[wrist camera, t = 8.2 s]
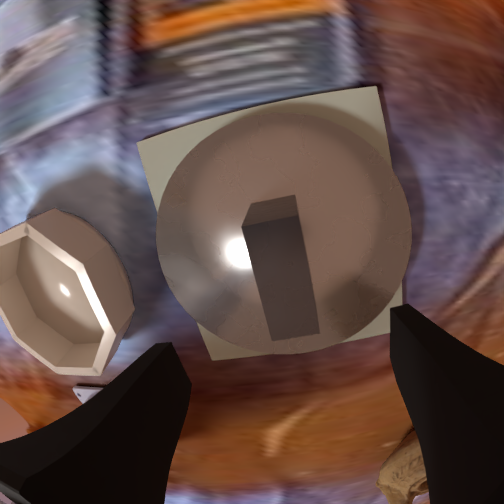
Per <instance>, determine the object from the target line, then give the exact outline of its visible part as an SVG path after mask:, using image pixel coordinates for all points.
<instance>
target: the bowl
mask: <svg viewBox="0 0 504 504" xmlns="http://www.w3.org/2000/svg"><path fill="white" fill-rule="evenodd" d="M134 310H135V307H134V305H133V293H132V288H131V284H130V281H129V278H128V275H127V272H126V270H125V268H124V266H123V263H122V262H121V260H120V258H119V256H118V255H117V253H116V252H115V250H114V249H113V247H112V246H111V245H110V243H109V242H108V241H107V240H106V239H105V237H104V236H103V235H102V234H101V233H100V232H99V231H98V230H96V229H95V228H94V227H93V226H92V225H90V224H89V223H88V222H86V221H85V220H83V219H81V218H79V217H77V216H75V215H73V214H70V213H66V212H62V211H59V210H57V209H56V208H53V209H51V210H49V211H46V212H44V213H41V214H39V215H37V216H35V217H33V218H30V219H28V220H26V221H24V222H21V223H19V224H17V225H15V226H13V227H11V228H9V229H7V230H5V231H4V232H2V233H0V315H1V317H2V319H3V321H4V323H5V325H6V326H7V328H8V330H9V332H10V334H11V335H12V337H13V339H14V340H15V341H16V342H17V343H18V344H20V345H21V346H22V347H23V348H24V349H26V350H27V351H28V352H29V353H31V354H32V355H33V356H34V357H36V358H37V359H38V360H40V361H41V362H42V363H44V364H45V365H46V366H48V367H49V368H50V369H52V370H53V371H54V372H56V373H57V374H66V375H87V376H101V375H102V373H103V372H104V370H105V368H106V367H107V365H108V364H109V362H110V361H111V359H112V358H113V356H114V355H115V353H116V352H117V350H118V347H119V345H120V343H121V340H122V338H123V336H124V334H125V332H126V331H127V329H128V327H129V325H130V322H131V319H132V315H133V313H134Z"/></svg>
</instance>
